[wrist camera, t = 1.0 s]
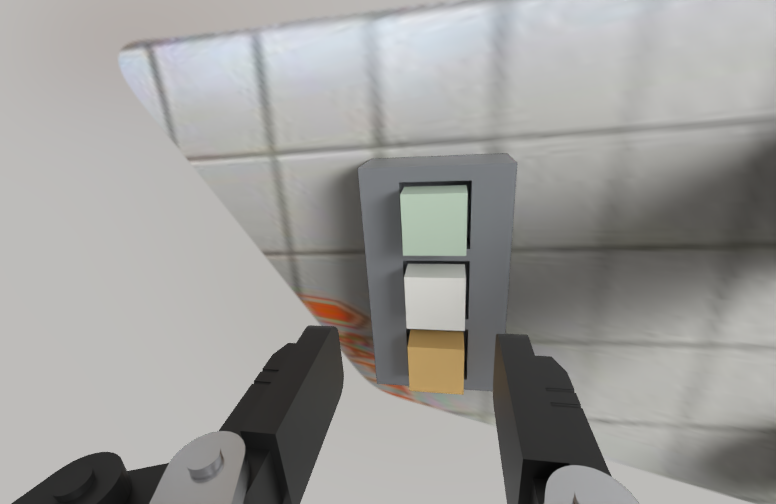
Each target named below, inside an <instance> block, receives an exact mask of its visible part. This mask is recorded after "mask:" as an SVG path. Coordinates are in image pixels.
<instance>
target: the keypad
mask: <svg viewBox="0 0 776 504" xmlns="http://www.w3.org/2000/svg"><path fill="white" fill-rule="evenodd" d="M516 174H517V162H516V161H515V160H514V159H513V158H512V157H511V156H510V155H509V154H507V153H502V154H477V155H453V156H428V157H403V158H378V159H370V160H369V161H368V162H366V163H365V164H363V165H362V166H360V167H359V168H358V178H359V189H360V200H361V211H362V222H363V233H364V244H365V255H366V266H367V277H368V288H369V300H370V311H371V322H372V333H373V344H374V355H375V366H376V377H377V384H391V385H406V386H409V368H408V348H407V347H408V341H409V336H410V330H411V329H407V327H406V307H405V286H404V276H405V272H406V268H407V265H408V264H465V274H466V296H465V331H462V332H464V389H465V390H480V391H493V374H494V357H495V341H496V334H505V331H506V317H507V303H508V288H509V274H510V260H511V245H512V231H513V217H514V202H515V188H516ZM451 185H466V186H467V192H468V200H467V248H466V256H403V245H402V225H401V205H400V194H401V192H402V190H403V188H404V187H413V186H451ZM413 330H428V329H413ZM437 331H452V330H437Z"/></svg>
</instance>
